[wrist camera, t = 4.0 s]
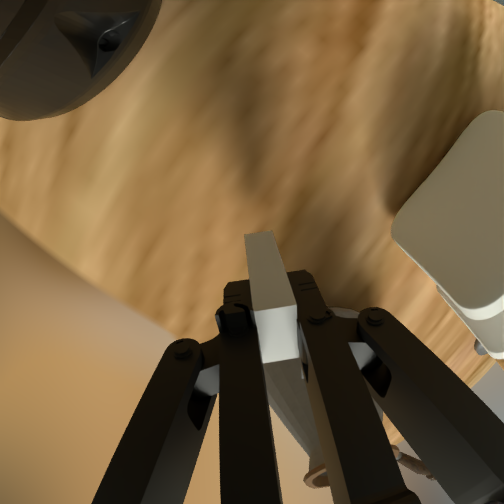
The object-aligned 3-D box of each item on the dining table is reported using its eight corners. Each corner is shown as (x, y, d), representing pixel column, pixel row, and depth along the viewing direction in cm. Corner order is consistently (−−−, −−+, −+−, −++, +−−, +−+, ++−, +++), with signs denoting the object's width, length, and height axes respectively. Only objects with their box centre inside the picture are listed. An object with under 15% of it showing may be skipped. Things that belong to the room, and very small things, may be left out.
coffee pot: (224, 356, 25) (228, 519, 12) (310, 264, 21) (393, 457, 8) (364, 406, 32) (398, 503, 18) (432, 350, 28) (489, 447, 15)
